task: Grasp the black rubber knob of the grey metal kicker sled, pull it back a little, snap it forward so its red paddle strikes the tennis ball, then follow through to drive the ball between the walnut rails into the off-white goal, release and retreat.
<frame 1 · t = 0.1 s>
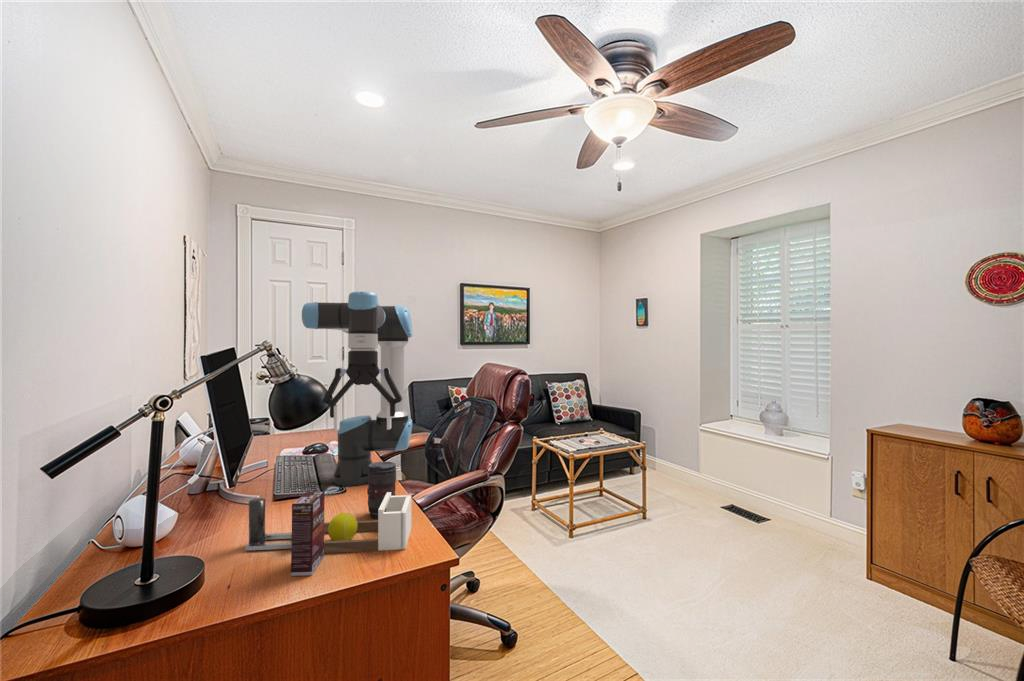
hand: (363, 429, 122), 28 cm above the table, fingers open, 13 cm apart
supplement box: (308, 567, 104), on the table
kicker sled: (277, 521, 115), point 6 cm above the table, slide at 0.0 cm
tennis ball: (343, 541, 117), on the table
goal: (406, 537, 119), on the table
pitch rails: (349, 540, 117), on the table
camera lens: (382, 515, 135), on the table
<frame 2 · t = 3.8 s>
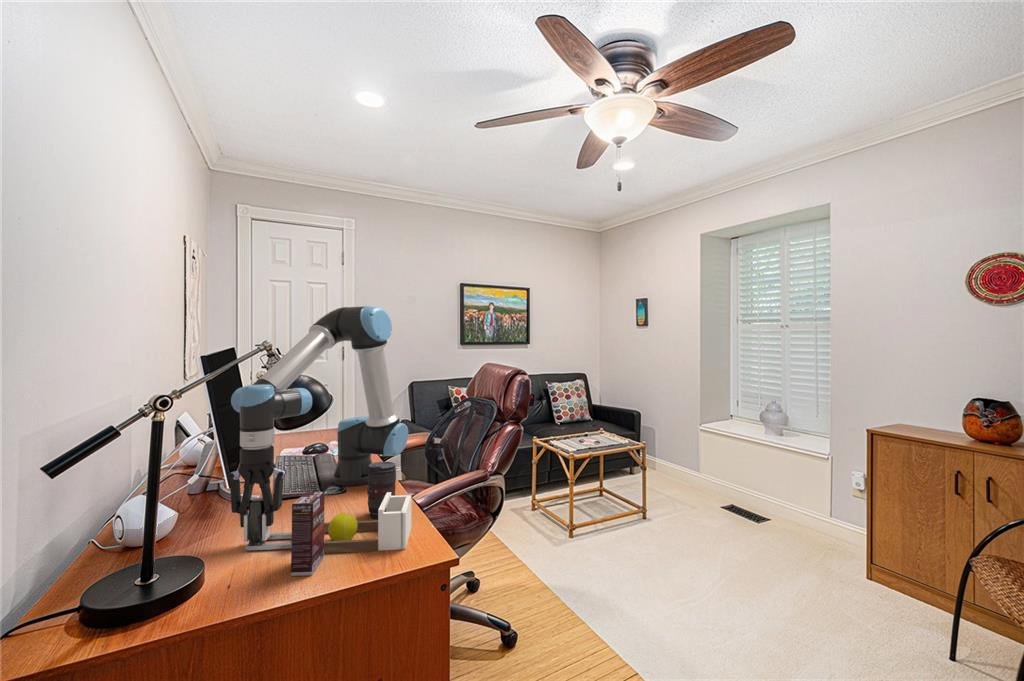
hand: (257, 538, 115), 2 cm above the table, fingers closed on kicker sled, 4 cm apart
kicker sled: (277, 521, 115), point 6 cm above the table, slide at 0.0 cm, touching gripper
everything else where it was.
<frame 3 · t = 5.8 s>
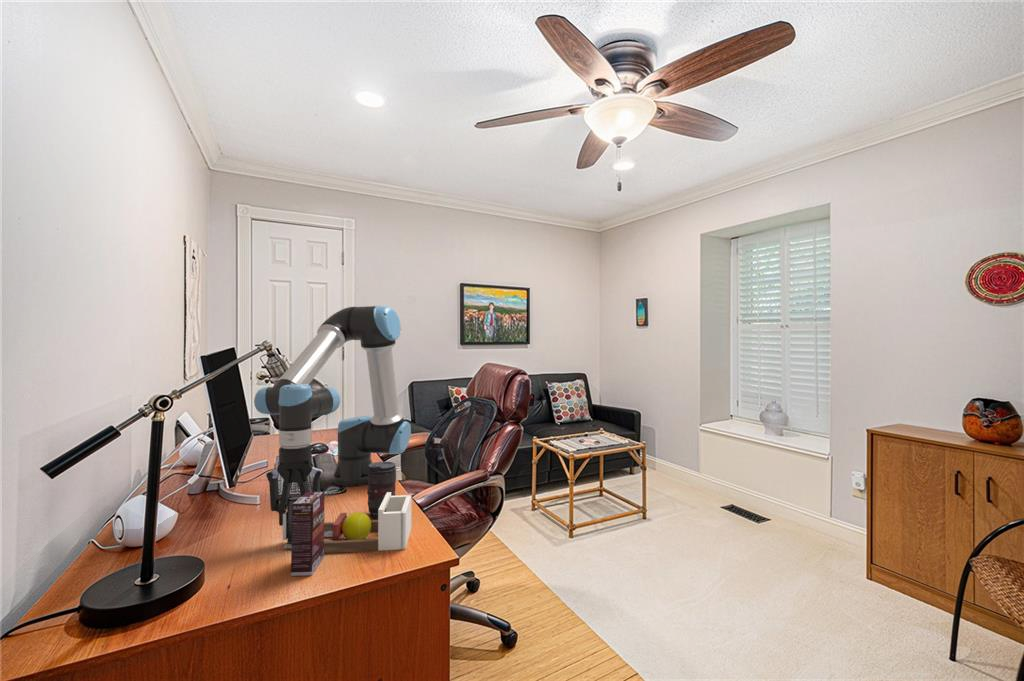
hand: (295, 537, 116), 2 cm above the table, fingers closed on kicker sled, 4 cm apart
kicker sled: (315, 519, 116), point 6 cm above the table, slide at 9.2 cm, touching gripper, tennis ball
tennis ball: (356, 541, 118), on the table, touching kicker sled
everything else where it was.
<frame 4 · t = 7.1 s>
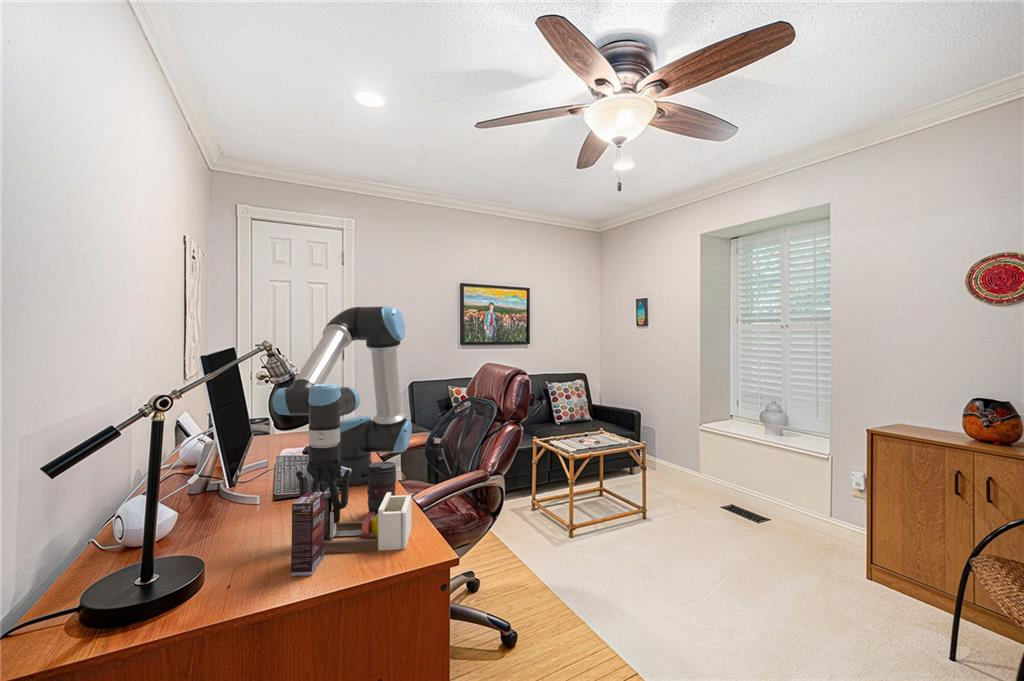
hand: (324, 535, 117), 2 cm above the table, fingers closed on kicker sled, 4 cm apart
kicker sled: (344, 518, 117), point 6 cm above the table, slide at 16.4 cm, touching gripper, tennis ball
tennis ball: (385, 539, 118), on the table, touching kicker sled
everything else where it was.
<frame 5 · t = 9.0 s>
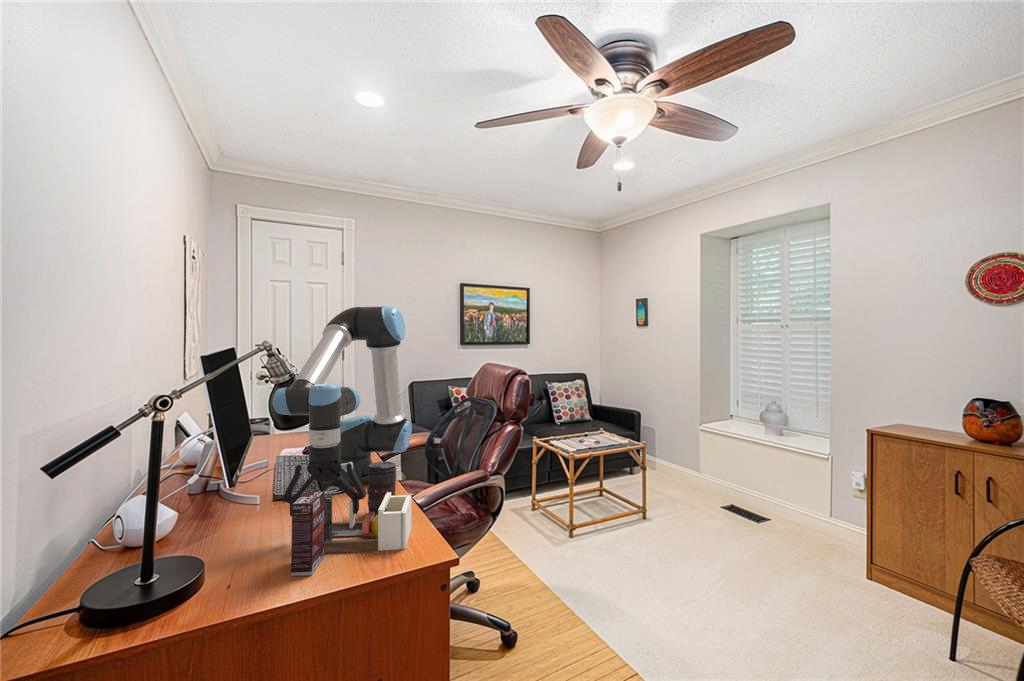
hand: (324, 527, 117), 4 cm above the table, fingers open, 13 cm apart
kicker sled: (344, 518, 117), point 6 cm above the table, slide at 16.4 cm
tennis ball: (385, 540, 118), on the table
everything else where it was.
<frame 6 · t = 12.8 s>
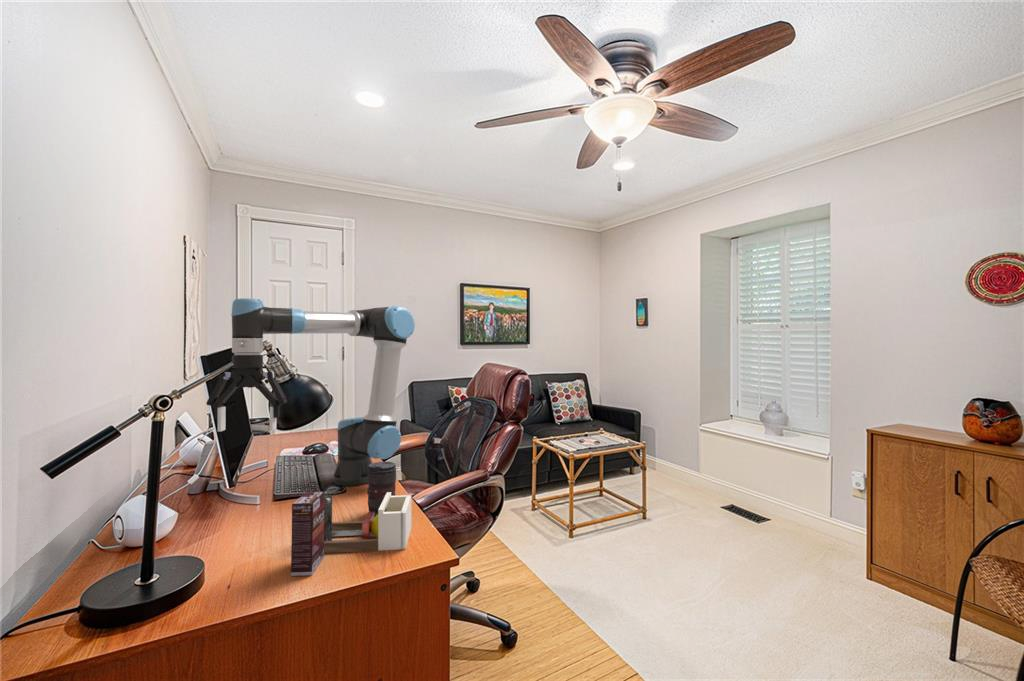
hand: (247, 430, 127), 27 cm above the table, fingers open, 13 cm apart
nothing on the table moved.
at the end: tennis ball inside the target area (1.8 cm from its centre), on the table; kicker sled slide at 16.4 cm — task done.
